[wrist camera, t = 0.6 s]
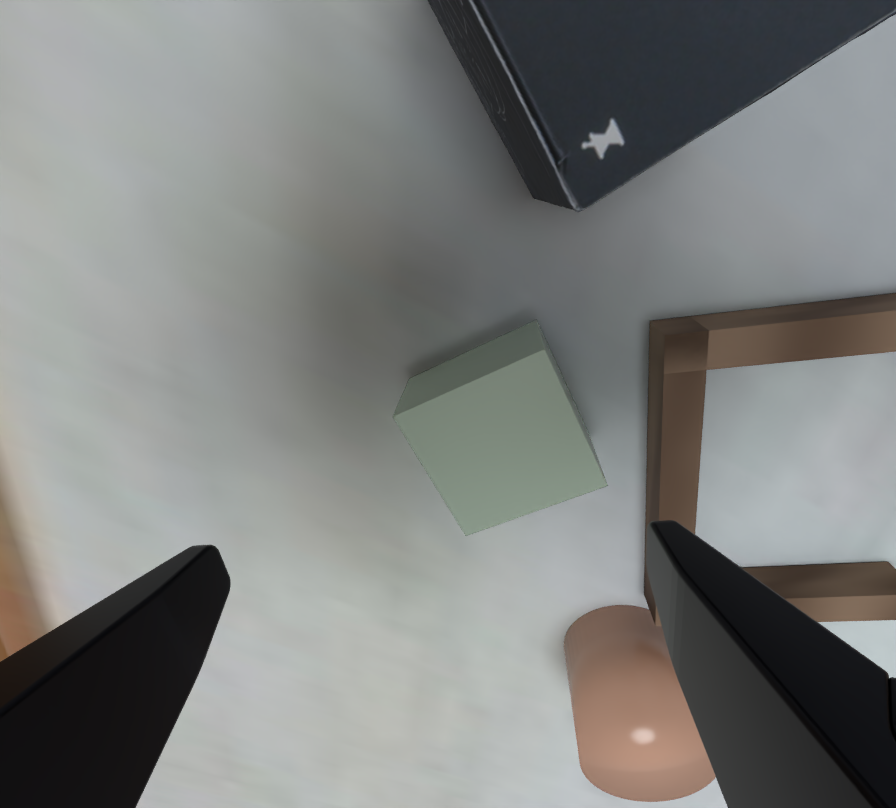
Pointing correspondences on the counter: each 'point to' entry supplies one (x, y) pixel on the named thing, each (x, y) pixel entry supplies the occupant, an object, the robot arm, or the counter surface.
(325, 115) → the counter surface
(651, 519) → the walnut bay
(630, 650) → the tan round cylinder
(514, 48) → the box
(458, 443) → the matte sage squarish block
